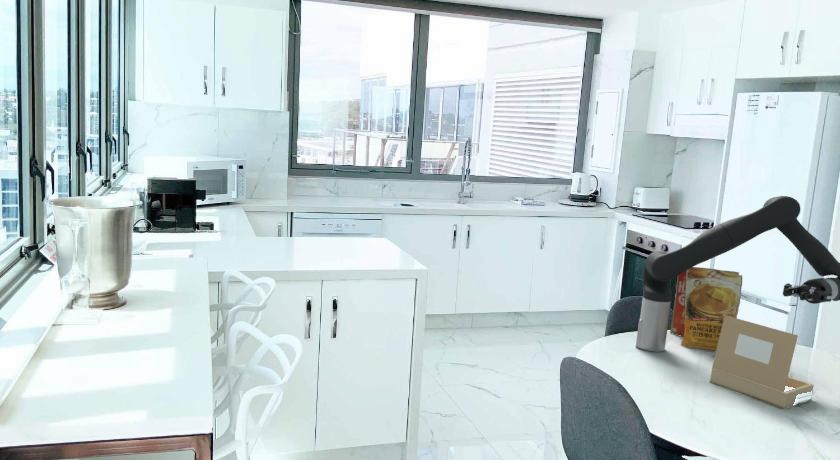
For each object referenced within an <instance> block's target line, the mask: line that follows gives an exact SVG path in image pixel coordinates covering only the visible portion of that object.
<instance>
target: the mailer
mask: <svg viewBox="0 0 840 460" xmlns="http://www.w3.org/2000/svg"><path fill="white" fill-rule="evenodd" d="M709 383H711V384H713V385H716V386H719V387H721V388H724V389H727V390H729V391H732V392H736V393H738V394H740V395H743V396H746V397H749V398H751V399H754V400H756V401H760V402H763V403H765V404H767V405H768V404H769V405H771V406H772V407H773V406H774V407H776V408H778V409H781V410H786V409H790V408H792V407H794V406H793V404H794V402H795V399H796V396H797V395H798V394H802V393H807V392H811V391H812V393H813V391H814V386H815V385H814V384H812V383H810V382H807V381H803V380H802V379H797V378H794V377H793V376H792V377H791V376H789V375H788V378H787V382H786V386H788V387H793V388H795V389H792V390H789V391H786V392H781V391H778V390H775V389H772V388H769V387H767V386H764V385H761V384H758V383H755V382H752V381H749V380H746V379H743V378H741V377H738V376H735V375H732V374H729V373H726V372H723V371H720V370H718V369H715V368H712V367H711V371H710V379H709Z"/></svg>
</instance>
